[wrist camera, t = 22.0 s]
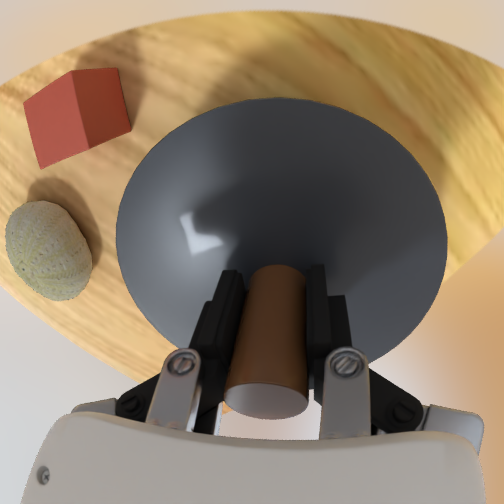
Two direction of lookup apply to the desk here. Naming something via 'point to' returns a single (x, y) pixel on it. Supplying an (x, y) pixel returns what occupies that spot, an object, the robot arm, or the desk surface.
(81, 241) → the sea urchin shell
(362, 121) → the pot lid
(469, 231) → the desk surface
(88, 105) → the block
